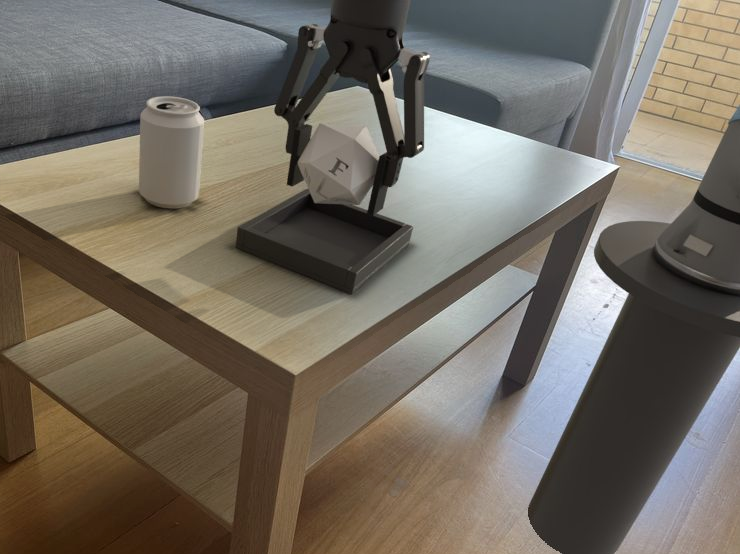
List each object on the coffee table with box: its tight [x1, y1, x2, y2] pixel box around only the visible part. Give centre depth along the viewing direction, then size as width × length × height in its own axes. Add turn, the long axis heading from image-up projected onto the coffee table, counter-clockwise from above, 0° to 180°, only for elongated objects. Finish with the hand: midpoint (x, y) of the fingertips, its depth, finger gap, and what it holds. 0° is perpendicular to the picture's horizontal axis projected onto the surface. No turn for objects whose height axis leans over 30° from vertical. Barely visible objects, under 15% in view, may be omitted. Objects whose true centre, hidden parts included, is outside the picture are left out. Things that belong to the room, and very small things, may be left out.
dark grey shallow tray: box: [235, 188, 414, 295], centre depth 85 cm, size 15×16×3 cm
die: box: [297, 122, 381, 206], centre depth 80 cm, size 8×9×10 cm
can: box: [138, 95, 205, 210], centre depth 88 cm, size 8×8×12 cm
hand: (334, 196), depth 82 cm, fingers closed on die, 10 cm apart
